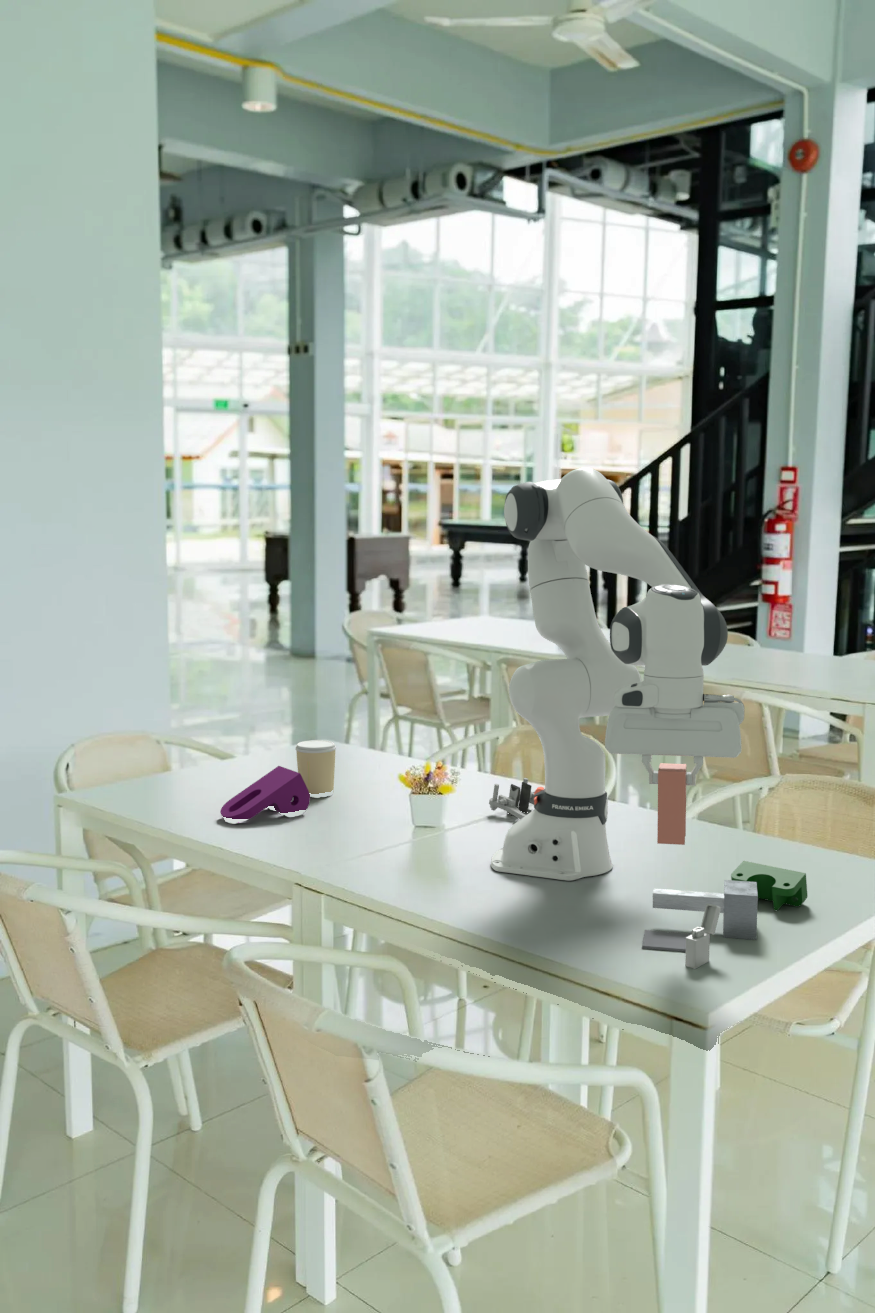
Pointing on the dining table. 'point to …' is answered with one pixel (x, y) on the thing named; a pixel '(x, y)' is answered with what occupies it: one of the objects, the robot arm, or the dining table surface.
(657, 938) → the mat
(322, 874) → the dining table surface
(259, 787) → the mounting bracket
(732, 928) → the vise
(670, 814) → the tall salmon pink brick
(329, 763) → the coffee cup
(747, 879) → the clamp
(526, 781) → the bike brake
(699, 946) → the lighter
